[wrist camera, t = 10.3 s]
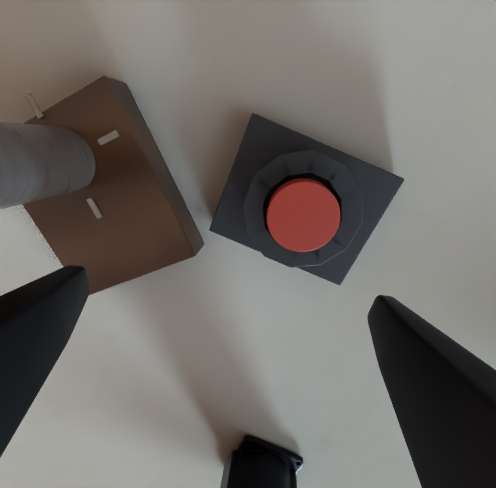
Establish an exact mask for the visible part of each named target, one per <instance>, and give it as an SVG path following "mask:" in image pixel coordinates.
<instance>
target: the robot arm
mask: <svg viewBox="0 0 496 488" xmlns="http://www.w3.org/2000/svg"><path fill="white" fill-rule="evenodd" d="M89 292H90V287H89V282H88V278H87V273H86V269H85V268H84V267H83V266H75V265H68V266H65V267H63V268H61V269H59V270H57V271H55V272H52V273H50V274H48V275H46V276H44V277H41V278H39V279H37V280H35V281H33V282H30V283H28V284H26V285H24V286H22V287H19V288H17V289H15V290H13V291H11V292H8V293H6V294H4V295H2V296H0V457H1V456H2V454H3V452H4V450H5V449H6V447H7V445H8V444H9V442H10V440H11V438H12V437H13V435H14V433H15V432H16V430H17V428H18V426H19V425H20V423H21V421H22V420H23V418H24V416H25V414H26V413H27V411H28V409H29V408H30V406H31V404H32V402H33V401H34V399H35V397H36V396H37V394H38V392H39V391H40V389H41V387H42V385H43V384H44V382H45V380H46V379H47V377H48V375H49V373H50V372H51V370H52V368H53V367H54V365H55V363H56V361H57V360H58V358H59V356H60V355H61V353H62V351H63V349H64V348H65V346H66V344H67V342H68V340H69V338H70V336H71V334H72V332H73V330H74V327H75V325H76V323H77V321H78V318H79V316H80V314H81V312H82V309H83V307H84V305H85V302H86V300H87V298H88V296H89ZM368 324H369V328H370V332H371V336H372V340H373V344H374V349H375V353H376V357H377V361H378V364H379V367H380V371H381V374H382V376H383V379H384V382H385V385H386V388H387V390H388V393H389V396H390V399H391V402H392V404H393V407H394V410H395V413H396V416H397V419H398V421H399V424H400V427H401V430H402V433H403V435H404V438H405V441H406V444H407V447H408V449H409V452H410V455H411V458H412V461H413V464H414V466H415V469H416V472H417V475H418V478H419V480H420V483H421V486H422V488H496V370H495V369H493V368H492V367H490V366H489V365H488V364H486V363H485V362H483V361H482V360H481V359H479V358H478V357H476V356H475V355H474V354H472V353H471V352H469V351H468V350H467V349H465V348H464V347H462V346H461V345H459V344H458V343H457V342H455V341H454V340H452V339H451V338H450V337H448V336H447V335H445V334H444V333H443V332H441V331H440V330H438V329H437V328H436V327H434V326H433V325H431V324H430V323H428V322H427V321H426V320H424V319H423V318H421V317H420V316H419V315H417V314H416V313H414V312H413V311H412V310H410V309H409V308H407V307H406V306H405V305H403V304H402V303H400V302H399V301H398V300H396V299H395V298H393V297H391V296H384V295H379V296H377V297H376V299H375V301H374V303H373V305H372V307H371V309H370V311H369V313H368ZM302 466H303V458H302V457H301V456H298V455H296V454H293V453H291V452H288V451H286V450H283V449H281V448H278V447H276V446H273V445H271V444H268V443H266V442H263V441H261V440H258V439H256V438H253V437H251V436H244V437H243V439H242V441H241V442H240V444H239V446H238V447H237V449H236V450H234V451H232V453H231V455H230V456H229V458H228V460H227V461H226V463H225V465H224V470H223V476H222V482H221V487H220V488H297V480H296V474H297V472H298V471H299V470H300V468H301V467H302Z"/></svg>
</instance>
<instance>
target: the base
mask: <svg viewBox="0 0 496 488" xmlns="http://www.w3.org/2000/svg"><path fill="white" fill-rule="evenodd" d="M25 97H26V99H27V100H28V102H29V104H30V106H31V107H32V109H33V111H34V112H35V114H36V116H35V117H34V118H32V119H30V120H29V121H27V122H25V123H23V124H35V125H50V126H62V127H67V128H70V129H72V130H74V131H75V132H77V133H78V134H80V135H81V136H82V137H83V138H84V139H85V140H86V142H87V143H88V144H89V146H90V148H91V150H92V152H93V155H94V158H95V165H96V166H95V174H94V177H93V179H92V181H91V182H90V184H89V185H88V186H87V187H85V188H84V189H82V190H79V191H75V192H71V193H67V194H62V195H58V196H54V197H50V198H46V199H42V200H37V201H33V202H29V203H25V204H23V206H24V207H25V209H26V210H27V212H28V213H29V215H30V216H31V218H32V219H33V221H34V222H35V224H36V226H37V227H38V229H39V230H40V232H41V233H42V235H43V236H44V238H45V239H46V241H47V242H48V244H49V245H50V247H51V248H52V250H53V251H54V253H55V254H56V256H57V257H58V259H59V260H60V262H61V263H62V265H63V266H64V267H65V266H68V265H75V266H83V267H84V268H85V269H86V273H87V278H88V282H89V287H90V292H89V295H91V294H93V293H96V292H99V291H102V290H104V289H107V288H110V287H112V286H115V285H118V284H121V283H123V282H126V281H129V280H131V279H134V278H137V277H140V276H142V275H145V274H148V273H150V272H153V271H156V270H159V269H161V268H164V267H167V266H169V265H172V264H175V263H178V262H180V261H183V260H186V259H188V258H191V257H194V256H196V254H197V253H198V252H199V250H200V249H201V248H202V247H203V245H204V242H203V239H202V237H201V235H200V233H199V231H198V229H197V227H196V225H195V223H194V221H193V219H192V217H191V215H190V213H189V211H188V209H187V207H186V205H185V203H184V201H183V199H182V197H181V194H180V192H179V190H178V188H177V186H176V184H175V182H174V180H173V178H172V176H171V174H170V172H169V170H168V168H167V166H166V164H165V162H164V160H163V158H162V156H161V154H160V152H159V150H158V147H157V145H156V143H155V141H154V139H153V137H152V135H151V133H150V131H149V129H148V127H147V125H146V123H145V121H144V119H143V117H142V115H141V113H140V111H139V109H138V107H137V105H136V102H135V100H134V98H133V96H132V94H131V92H130V90H129V88H128V86H127V84H126V83H123V82H120V81H118V80H115V79H112V78H109V77H107V76H103V77H101V78H99V79H98V80H96V81H94V82H93V83H91V84H89V85H87V86H86V87H84V88H82V89H81V90H79V91H77V92H76V93H74V94H72V95H71V96H69V97H67V98H66V99H64V100H62V101H61V102H59V103H57V104H55V105H54V106H52V107H50V108H49V109H47V110H45V111H44V112H42V111H41V110H40V108H39V106H38V105H37V103H36V101H35V99H34V98H33V96H32V94H31V93H28V94H27V95H25Z"/></svg>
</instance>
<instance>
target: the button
mask: <svg viewBox="0 0 496 488" xmlns="http://www.w3.org/2000/svg"><path fill="white" fill-rule="evenodd" d="M339 223H340V208H339V204H338V202H337V200H336V198H335V196H334V195H333V194H332V193H331V192H330V191H329V189H328V188H327V187H325V186H324V185H323V184H322V183H320V182H318V181H316V180H313V179H309V178H297V179H293V180H290V181H288V182H286V183H284V184H283V185H281V186H280V187H279V188H278V189H277V190H276V191H275V192H274V194H273V195H272V197H271V199H270V202H269V206H268V210H267V225H268V229H269V231H270V233H271V235H272V237H273V238H274V239H275V240H276V242H278V243H279V244H280V245H281V246H283V247H285V248H287V249H289V250H292V251H297V252H307V251H312V250H315V249H318V248H320V247H322V246H323V245H325V244H326V243H327V242H329V241H330V240H331V238H332V237H333V236H334V235H335V233H336V231H337V229H338V226H339Z"/></svg>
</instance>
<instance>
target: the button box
mask: <svg viewBox="0 0 496 488" xmlns="http://www.w3.org/2000/svg"><path fill="white" fill-rule="evenodd" d="M297 178H309V179H313V180H316V181H318V182H320V183H322V184H323V185H324V186H325V187H327V188H328V189H329V191H330V192H331V193H332V194H333V195H334V196H335V198H336V200H337V202H338V204H339V208H340V223H339V226H338V229H337V231H336V233H335V235H334V236H333V237H332V238H331V240H330V241H329V242H327V243H326V244H325V245H323V246H322V247H320V248H318V249H315V250H312V251H307V252H297V251H292V250H289V249H287V248H285V247H283V246H281V245H280V244H279V243H278V242H276V240H275V239H274V238H273V237H272V235H271V233H270V231H269V229H268V225H267V210H268V206H269V202H270V199H271V197H272V195H273V194H274V192H275V191H276V190H277V189H278V188H279V187H280V186H281V185H283V184H284V183H286V182H288V181H290V180H293V179H297ZM403 181H404V179H403V178H401V177H399V176H396V175H394V174H392V173H389V172H387V171H385V170H383V169H380V168H378V167H376V166H373V165H371V164H369V163H367V162H364V161H362V160H360V159H357V158H355V157H353V156H350V155H348V154H346V153H344V152H341V151H339V150H337V149H334V148H332V147H330V146H328V145H325V144H323V143H321V142H318V141H316V140H314V139H311V138H309V137H307V136H305V135H302V134H300V133H298V132H295V131H293V130H291V129H289V128H286V127H284V126H282V125H279V124H277V123H275V122H272V121H270V120H268V119H266V118H263V117H261V116H259V115H256V114H254V113H252V115H251V118H250V120H249V123H248V126H247V128H246V131H245V134H244V137H243V139H242V142H241V145H240V147H239V150H238V153H237V156H236V158H235V161H234V164H233V166H232V169H231V172H230V175H229V177H228V180H227V183H226V185H225V188H224V191H223V194H222V196H221V199H220V202H219V204H218V207H217V210H216V213H215V215H214V218H213V221H212V223H211V226H210V229H209V230H210V231H212V232H214V233H217V234H219V235H221V236H224V237H226V238H229V239H231V240H233V241H236V242H238V243H240V244H243V245H245V246H248V247H250V248H252V249H255V250H257V251H259V252H261V253H262V254H263V255H264V256H265V257H267V258H270V259H272V260H274V261H277V262H279V263H282V264H284V265H286V266H289V267H297V268H300V269H302V270H304V271H307V272H309V273H312V274H314V275H316V276H319V277H321V278H323V279H326V280H328V281H331V282H333V283H335V284H338V285H340V284H341V283H342V281H343V279H344V278H345V276H346V275H347V273H348V271H349V270H350V268H351V266H352V265H353V263H354V261H355V260H356V258H357V256H358V255H359V253H360V252H361V250H362V248H363V247H364V245H365V243H366V242H367V240H368V238H369V237H370V235H371V233H372V232H373V230H374V229H375V227H376V225H377V224H378V222H379V220H380V219H381V217H382V215H383V214H384V212H385V210H386V209H387V207H388V206H389V204H390V202H391V201H392V199H393V197H394V196H395V194H396V192H397V191H398V189H399V187H400V186H401V184H402V183H403Z"/></svg>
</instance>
